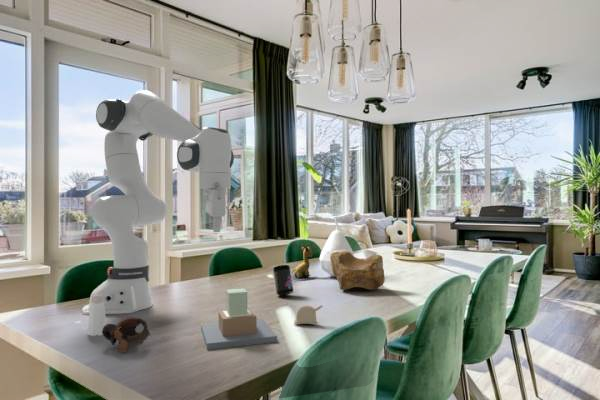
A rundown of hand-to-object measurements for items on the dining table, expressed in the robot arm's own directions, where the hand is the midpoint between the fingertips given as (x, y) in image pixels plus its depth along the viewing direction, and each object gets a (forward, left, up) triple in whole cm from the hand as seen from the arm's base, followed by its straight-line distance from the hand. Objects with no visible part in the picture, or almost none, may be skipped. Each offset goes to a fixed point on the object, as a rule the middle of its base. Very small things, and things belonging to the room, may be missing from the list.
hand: (214, 230), depth 126 cm
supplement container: (+30, +34, -29) cm, 54 cm away
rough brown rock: (+60, +35, -29) cm, 75 cm away
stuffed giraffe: (+48, +69, -29) cm, 88 cm away
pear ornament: (+67, +66, -29) cm, 98 cm away
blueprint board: (+5, -9, -28) cm, 30 cm away
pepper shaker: (-32, +5, -29) cm, 43 cm away
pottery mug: (-24, -8, -30) cm, 39 cm away
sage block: (+5, -9, -22) cm, 24 cm away
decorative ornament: (+23, -5, -29) cm, 37 cm away
